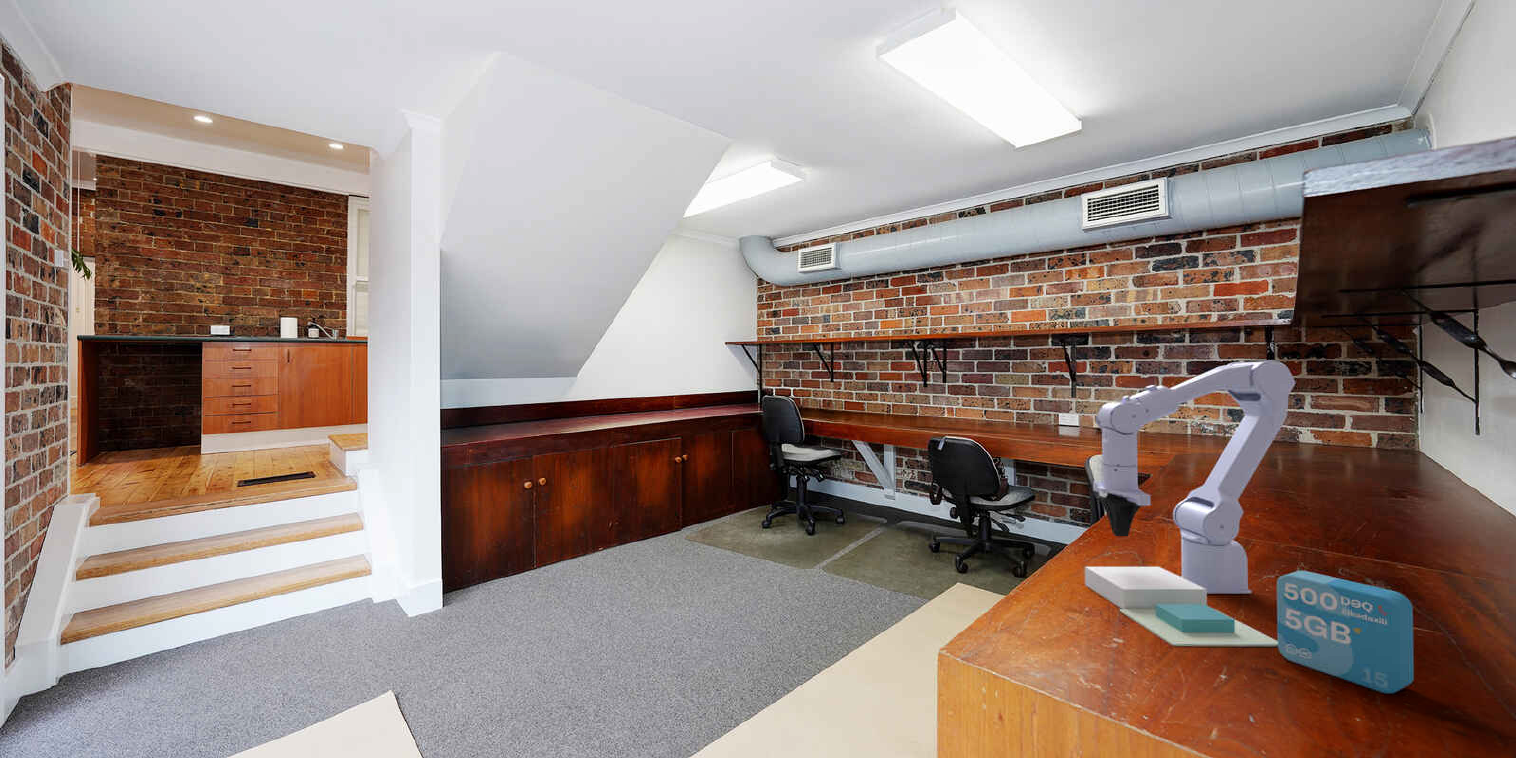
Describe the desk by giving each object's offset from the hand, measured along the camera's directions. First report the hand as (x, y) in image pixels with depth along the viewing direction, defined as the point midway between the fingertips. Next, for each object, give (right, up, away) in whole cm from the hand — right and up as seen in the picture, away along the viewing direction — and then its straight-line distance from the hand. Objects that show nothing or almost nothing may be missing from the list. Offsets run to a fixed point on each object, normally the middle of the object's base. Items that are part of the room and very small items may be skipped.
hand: (1120, 535), depth 110 cm
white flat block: (0, -9, -6) cm, 11 cm away
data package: (+8, -9, -33) cm, 36 cm away
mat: (0, -9, -19) cm, 21 cm away
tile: (0, -7, -19) cm, 20 cm away
